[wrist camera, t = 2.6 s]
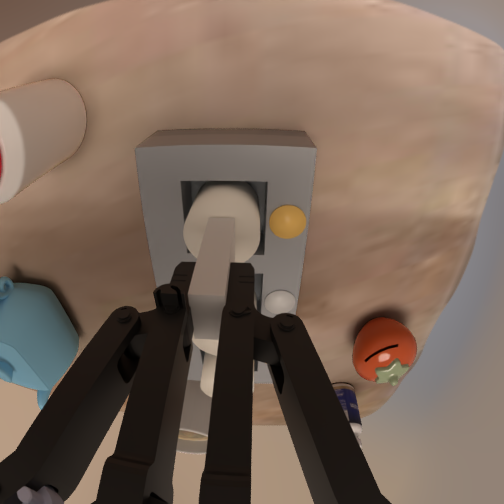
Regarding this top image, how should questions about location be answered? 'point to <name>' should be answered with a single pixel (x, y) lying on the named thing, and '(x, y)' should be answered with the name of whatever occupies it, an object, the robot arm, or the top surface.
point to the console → (231, 169)
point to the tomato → (383, 350)
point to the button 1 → (211, 374)
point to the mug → (194, 420)
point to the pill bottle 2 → (349, 407)
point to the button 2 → (225, 216)
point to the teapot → (34, 337)
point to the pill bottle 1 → (37, 131)
